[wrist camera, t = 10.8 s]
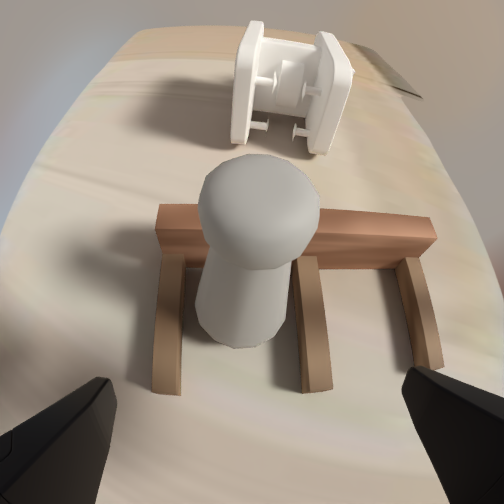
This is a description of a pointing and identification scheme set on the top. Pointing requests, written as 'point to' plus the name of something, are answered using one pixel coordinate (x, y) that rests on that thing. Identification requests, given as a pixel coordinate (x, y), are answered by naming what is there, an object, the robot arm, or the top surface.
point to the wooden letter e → (302, 285)
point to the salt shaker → (252, 245)
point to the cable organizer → (290, 85)
